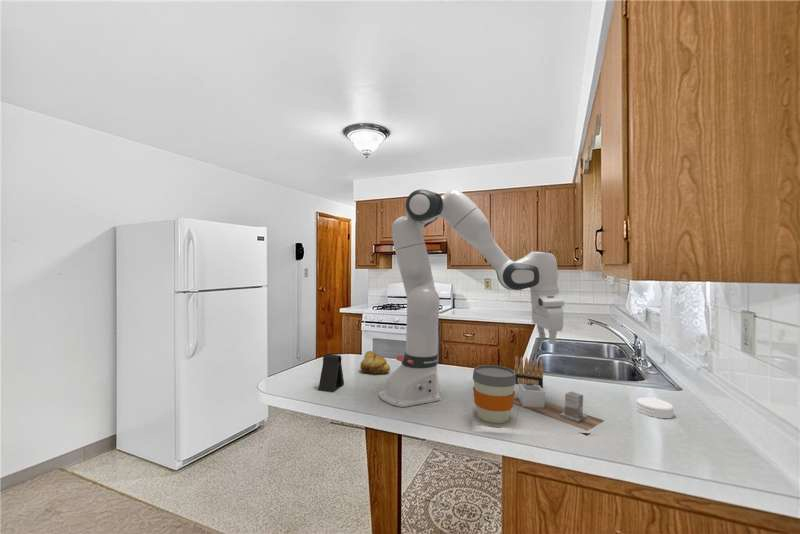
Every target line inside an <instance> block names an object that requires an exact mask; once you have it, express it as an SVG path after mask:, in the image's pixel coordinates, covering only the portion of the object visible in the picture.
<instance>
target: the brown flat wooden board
mask: <svg viewBox="0 0 800 534" xmlns="http://www.w3.org/2000/svg"><path fill="white" fill-rule="evenodd" d="M564 398H565V400H564V406H562V405H559V404H555V403H552V402H549V401H545V405H544V408H543V407H528V406H523V405H522V404H521V402H520V400H519V396H518V397H514V401H513V405H515V406H518V407H520V408H523V409H527V410H529V411H532V412H535V413H538V414H540V415H543V416H545V417H549V418H551V419H554V420H557V421H560V422H562V423H565V424H568V425H570V426H573V427H576V428H579V429H582V430H585V431H591V429H594V428H595V427H596V426H598V425H600V424H601V423H603V422H604V421H605V420H604V419H600V418H598V417H596V416H591V415H588V414H586V413H584V412H583V411H584V410H583V409H584V394H583V393H578V392H574V391H569V392H566V393H565V396H564ZM580 434H581V435H584V436H586V437H588V436H590V435H591V434H592V433H591V432H590V433H589V432H580Z"/></svg>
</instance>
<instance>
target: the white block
mask: <svg viewBox="0 0 800 534" xmlns="http://www.w3.org/2000/svg"><path fill="white" fill-rule="evenodd" d="M545 395H546V391H545V390H544V389H543V388H541V387H540V386H539V385H533V383H525V384H518V397H519V400H520V402H521V404H522V405H523V406H528V407H543V408H544V405H545V400H546V399H545Z"/></svg>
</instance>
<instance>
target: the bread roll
mask: <svg viewBox="0 0 800 534" xmlns="http://www.w3.org/2000/svg"><path fill="white" fill-rule="evenodd" d="M360 370H361V372H363V373H370V374H373V375H375V374H381V375H382V374H387V373H390V370H391V366H390V364H389V363H387V360H386V358H385V357H384V356H382V355H377V354H376V353H375V352H374V351H372V350H369V351H366V353H365V354H364V358H363V359H362V361H360Z"/></svg>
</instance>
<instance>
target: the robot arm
mask: <svg viewBox="0 0 800 534" xmlns="http://www.w3.org/2000/svg"><path fill="white" fill-rule="evenodd" d="M405 210H406V214H405V215H403V216H400V217H397V218H396V219H395V220H394V221H393V223H392V225H391V226H392V227H391V232H392V233H391V234H392V242H393V247H394V250H395V251H394V252H395V256H396V260H397V264H398V268H399V272H400V277H401V280H402V284H403V288H404V291H405V292H404V293H405V295H406V300H407V302H406V334H405V335H406V337H405V338H406V339H405V351H404V355H401V354H397V355H396V361H398V362H401V363H400V365H399V366H398V367H397V368H396V370H394V371H393V372H392V374H390V375H389V376H388V377H387V379H386V382H385V387H384V390H380V391H378V398H380V400H382V401H383V402H385V403H387V404H390V405H392V406H394V407H395V406H397V407H401V408H405V407H412V406H416V405H417V406H418V405H422V404H429V403H435V402H438V401H441V391H440V387H439V378H438V377H439V376H438V368H437V366H438V364H439V363H438V361H439V357H438V356H439V355H438V352H437V351H438V350H437V349H438V329H439V317H440V316H439V315H440V297H439V293H438V291H436V287H435V282H434V278H433V272H432V267H431V262H430V258H429V255H428V251H427V250H428V249H427V244H426V243H425V237H424V233H423V231H424V230H423V229H424V228H425V227H427V226H428V225H430V224H432V223H434V222H435V221H436V220H438V218H441V219H442V220H444V221H446V222H447V224H448V225H449V226H451V228H452V230H454V231H455V232H456V233H457V235H458V236H459V237H460V238H462V239H463V240H464V241H466V242H467V243H468V244H470V245H471V246H472V247H474V248H475V249H476V250H478V251H479V252H480V253H481V255H482V256H484V258H485V260H486V261H487V262H488V263H489V264H490V265H491V266H492V268H493V269H494V271H495V273H496V276H497V277H496V278H497V280H498V282H499V284H500V286H502V287H503V288H505V289H506V290H509V291H510V290H511V291H523V290H526V289H530V290H529V291H530V292H529V293H530V304H531V320H532V323H533V324H534V325H536V329H537V333H538V338H539V339H545V338H546V331H545V330H547V331H548V337H547V338H548V339H547V340H548V341H547V342H548V344H550V345H555V344H556V338H557V335H558V333H557V332H562V331H563V328H564V310H563V307H565V300H564V299H563V298H562V297H561V294H560V291H559V290H560V289H559V286H558V278H559V272H558V264H557V263H558V262H557V259H556V256H555V254H554V253H552V252H550V251H544V250H533V251H530V253H528V254H526V255H525V256H523V257H522V258H521V257H520V258H519V259H517V260H515V261H514V260H512V259H511V258H509V256H508V255H507V254H506V253H505V252H504V251H503V250H502V248H501V247H500V246H499V245H498V244H497V242H496V241H495V239H494V237H493V235H492V231H491V225H490V222H489V220H488V219H487V217H486V215H485V214H484V212H482V210H481V208H480V207H478V206H477V204H476V203H475V202H474V201H473V200H472V199H470V197H468V196H467V195H466V194H464V193H463V192H462V191H460V189H455V188H454V189H451V190H450V189H449V190H448V191H446V192H445V193H443V194H442V195H441V194H439V193H437V192H434V191H430V190H429V189H428V190H427V189H416V190H414V191H412V192H411V193H410V194H409V195H408V196H407V198H406V200H405Z"/></svg>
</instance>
